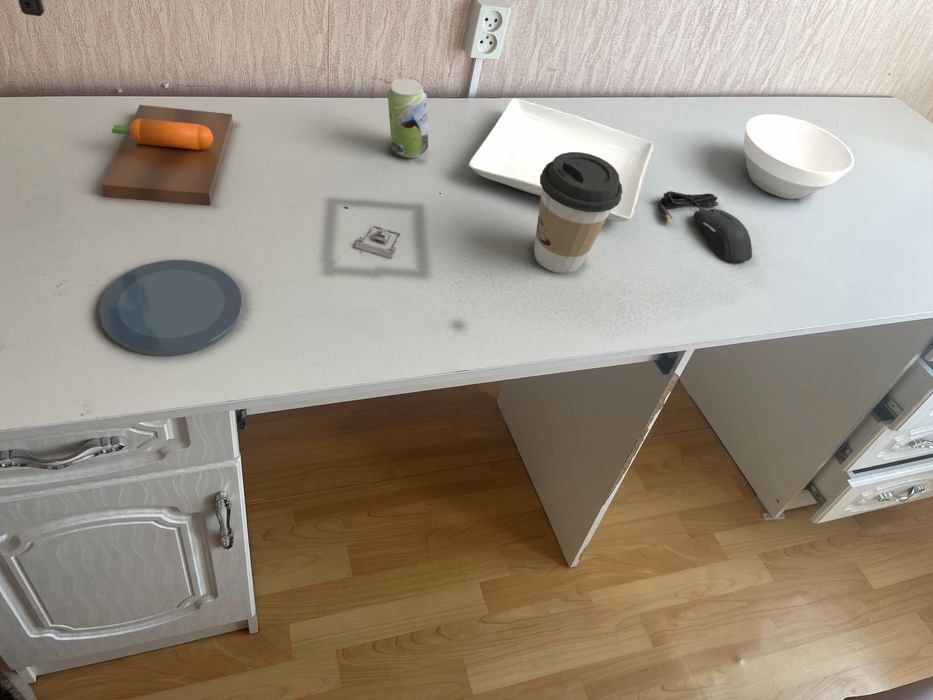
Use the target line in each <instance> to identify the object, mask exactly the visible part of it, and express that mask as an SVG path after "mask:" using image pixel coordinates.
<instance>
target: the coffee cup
mask: <svg viewBox="0 0 933 700" xmlns="http://www.w3.org/2000/svg"><path fill="white" fill-rule="evenodd" d="M540 184H541V186H542V193H541V197H540V201H539V207H538V208H539V209H538V216H537V223H536V229H535V230H536V231H535V238H534V245H533V252H534V258H535V260H536V262H537V263H538V265H540V266H541V267H542V268H543V269H545V270H547V271H550V272H552V273H555V274H570V273H574V272H576V271H577V270H578V269H579V268H580V266H582V265H583V263H584V261H585V260H586V257H587V256H588V254H589V252H590V250H591V249H592V246H593V245H594V243H595V242H596V239H597V237H598V235H599V234H600V232H601V230H602V229H603V226H604V224H605V223H606V220H607V219H608V218H607V217H608V215H609V213H610V211H611V209H613V208H614V207H616V206H617V205H618V204H619V202H620V200H621V195H622V185H621V183H620V181H619V174H618V173H617V171H616V169H615V168H614V167H613V166H612V165H610V164H609V163H608V162H606V161H605V160H603V159H601V158H599V157H596V156H594V155H591V154H587V153H582V152H568V153H563V154H560V155H558V156H557V157H555V158H554V160H553V161H552V162H550V163H548V164H547V165H546V166H545V168H544V169H543V171H542V174H541V175H540Z"/></svg>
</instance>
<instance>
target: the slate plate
mask: <svg viewBox="0 0 933 700" xmlns="http://www.w3.org/2000/svg"><path fill="white" fill-rule="evenodd" d="M242 312H243V296H242V293H241V289H240V288H239V286H238V284H237V282H236V281H234V279H233V278H232V277H231V276H230V275H229V274H227V273H226V272H225V271H224V270H221V269H219V268H218V267H216V266H213V265H210V264H208V263H204V262H201V261H196V260H188V259H187V260H186V259H168V260H159V261H154V262H149V263H147V264H146V263H145V264H143V265H141V266H138V267H135V268H133V269H131V270H129V271H126V272H125V273H124V274H122V275H120V276H119V277H118V278H116V279H115V280H114V281H112V283H110V285H109V286H107V289H105V291H104V292H103V294H102V296H101V299H100V302H99V308H98V315H99V319H100V322H101V325H102V328H103V331H104V332H105V333H106V335H108V336H109V338H110V339H112V341H114V342H115V343H116V344H118V345H119V346H121V347H123V348H125V349H127V350H130V351H132V352H135V353H138V354H143V355H148V356H155V357H157V356H158V357H173V356H181V355H186V354H190V353H195V352H198V351H201V350H203V349H207V348H208V347H210V346H212V345H214V344H216V343H218V342H219V341H221V340H222V339H223V338H225V337H226V336H227V335H229V334H230V332H231V331H232V330H234V329H235V327H236V326H237V324H238V322H239V321H240V318H241V315H242Z"/></svg>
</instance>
